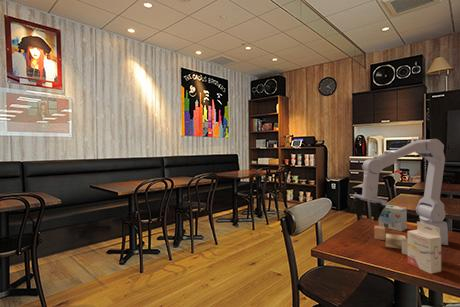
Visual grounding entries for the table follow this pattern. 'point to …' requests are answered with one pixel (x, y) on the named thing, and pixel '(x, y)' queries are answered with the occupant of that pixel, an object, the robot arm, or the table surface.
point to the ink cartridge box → (425, 248)
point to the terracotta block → (379, 232)
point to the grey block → (404, 246)
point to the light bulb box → (394, 218)
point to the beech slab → (394, 240)
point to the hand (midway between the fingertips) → (367, 218)
